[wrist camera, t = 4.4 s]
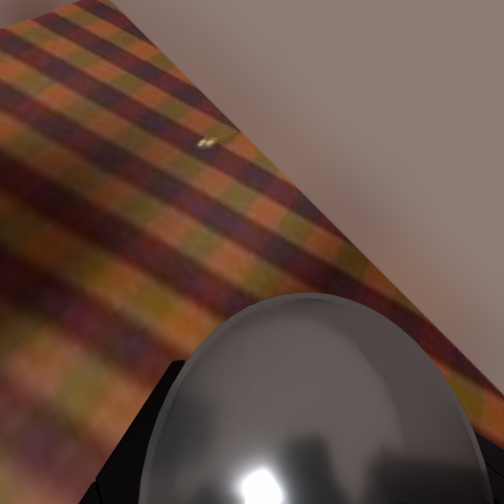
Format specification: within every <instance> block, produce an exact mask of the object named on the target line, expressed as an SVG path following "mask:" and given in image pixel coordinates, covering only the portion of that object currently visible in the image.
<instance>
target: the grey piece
mask: <svg viewBox="0 0 504 504" xmlns="http://www.w3.org/2000/svg"><path fill="white" fill-rule="evenodd" d="M138 504H494V500H493V494H492V490H491V486H490V482H489V478H488V474H487V469H486V465H485V462H484V459H483V456H482V453H481V450H480V447H479V444H478V441H477V438H476V436H475V434H474V431H473V429H472V427H471V424H470V422H469V420H468V418H467V415H466V413H465V411H464V409H463V407H462V406H461V404H460V402H459V400H458V398H457V396H456V394H455V392H454V391H453V389H452V388H451V386H450V385H449V383H448V382H447V380H446V379H445V377H444V375H443V374H442V372H441V371H440V370H439V369H438V367H437V366H436V365H435V363H434V362H433V361H432V360H431V358H430V357H429V356H428V354H427V353H426V352H425V351H424V350H423V349H422V348H421V347H420V346H419V345H418V344H417V343H416V342H415V341H414V340H413V339H412V338H411V337H410V336H409V335H408V334H406V333H405V332H404V331H403V330H402V329H401V328H400V327H398V326H397V325H396V324H394V323H393V322H391V321H390V320H389V319H387V318H386V317H384V316H383V315H381V314H379V313H378V312H376V311H374V310H372V309H370V308H368V307H367V306H364V305H362V304H359V303H357V302H354V301H352V300H350V299H346V298H342V297H338V296H335V295H329V294H322V293H292V294H285V295H279V296H276V297H272V298H269V299H265V300H263V301H260V302H258V303H256V304H253V305H251V306H249V307H247V308H245V309H243V310H242V311H240V312H238V313H237V314H235V315H233V316H232V317H230V318H229V319H228V320H226V321H225V322H224V323H223V324H221V325H220V326H219V327H218V328H216V329H215V330H214V331H213V332H212V333H211V334H210V335H209V336H208V337H207V338H206V339H205V340H204V341H203V342H202V343H201V344H200V345H199V346H198V348H197V349H196V350H195V352H194V353H193V354H192V356H191V357H190V358H189V359H188V361H187V362H186V363H185V365H184V366H183V368H182V369H181V371H180V373H179V375H178V376H177V378H176V380H175V381H174V383H173V385H172V386H171V388H170V390H169V392H168V394H167V397H166V399H165V401H164V403H163V405H162V408H161V410H160V412H159V414H158V417H157V420H156V423H155V426H154V429H153V432H152V435H151V438H150V441H149V445H148V449H147V454H146V458H145V463H144V467H143V472H142V477H141V485H140V494H139V503H138Z"/></svg>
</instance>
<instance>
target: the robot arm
mask: <svg viewBox="0 0 504 504" xmlns="http://www.w3.org/2000/svg"><path fill="white" fill-rule="evenodd" d="M185 363H186V362H185V360H176V361H173V362H172V363H171V364H170V365H169V367H168V368H167V370H166V372H165V373H164V375H163V376H162V378H161V379H160V381H159V382H158V384H157V385H156V387H155V388H154V390H153V391H152V393H151V394H150V396H149V397H148V399H147V400H146V402H145V404H144V405H143V407H142V408H141V410H140V411H139V413H138V414H137V416H136V417H135V419H134V420H133V422H132V423H131V425H130V426H129V428H128V429H127V431H126V432H125V434H124V436H123V437H122V439H121V440H120V442H119V443H118V445H117V446H116V448H115V449H114V451H113V452H112V454H111V455H110V457H109V458H108V460H107V461H106V463H105V464H104V466H103V468H102V469H101V471H100V472H99V474H98V475H97V477H96V479H95V480H96V482H95V481H94V482H93V483H92V484H91V486H90V487H89V489H88V490H87V492H86V493H85V495H84V496H83V498H82V499H81V501H80V502H79V504H138V503H139V494H140V485H141V477H142V472H143V467H144V463H145V458H146V454H147V449H148V445H149V441H150V438H151V435H152V432H153V429H154V426H155V423H156V420H157V417H158V414H159V412H160V410H161V408H162V405H163V403H164V401H165V399H166V397H167V394H168V392H169V390H170V388H171V386H172V385H173V383H174V381H175V380H176V378H177V376H178V375H179V373H180V371H181V369H182V368H183V366H184V365H185ZM473 431H474V430H473ZM474 434H475V436H476V438H477V441H478V444H479V447H480V450H481V453H482V456H483V459H484V462H485V465H486V469H487V474H488V478H489V482H490V486H491V490H492V494H493V500H494V504H504V449H503V448H502V447H500V446H498V445H497V444H495V443H493V442H492V441H490V440H488V439H487V438H485V437H483V436H482V435H480V434H479V433H477V432H475V431H474Z"/></svg>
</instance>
